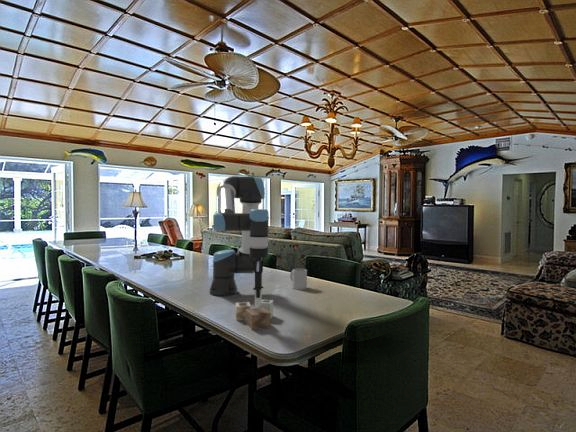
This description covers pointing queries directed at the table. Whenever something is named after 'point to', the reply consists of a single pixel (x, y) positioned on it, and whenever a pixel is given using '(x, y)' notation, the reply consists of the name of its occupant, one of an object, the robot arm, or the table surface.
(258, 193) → the robot arm
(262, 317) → the walnut block
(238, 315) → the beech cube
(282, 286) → the table surface
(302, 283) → the mug
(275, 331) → the table surface
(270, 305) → the pale square cup
